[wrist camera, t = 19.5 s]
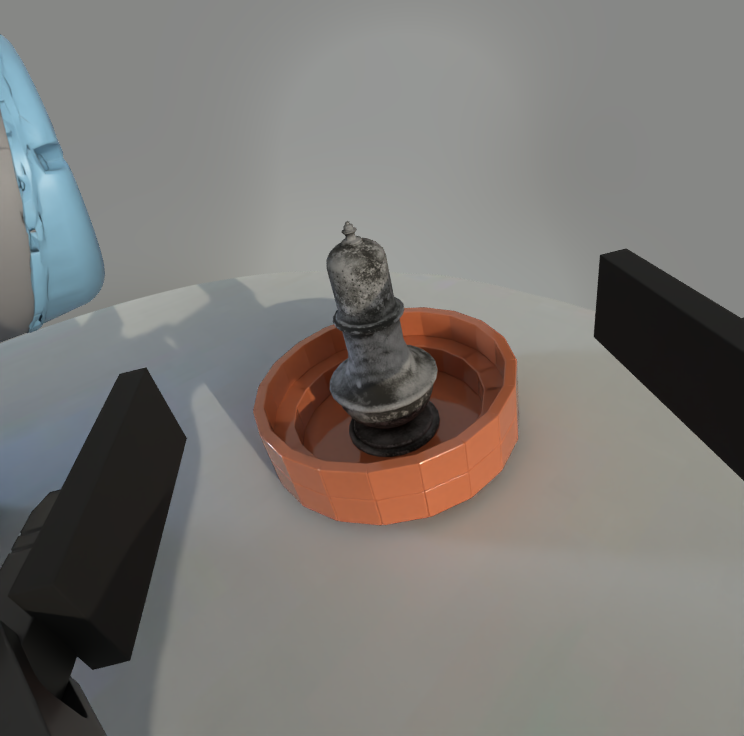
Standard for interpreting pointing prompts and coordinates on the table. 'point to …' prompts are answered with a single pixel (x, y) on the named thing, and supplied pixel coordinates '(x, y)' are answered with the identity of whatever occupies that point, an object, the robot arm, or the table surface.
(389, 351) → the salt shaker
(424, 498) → the bowl
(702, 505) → the table surface
